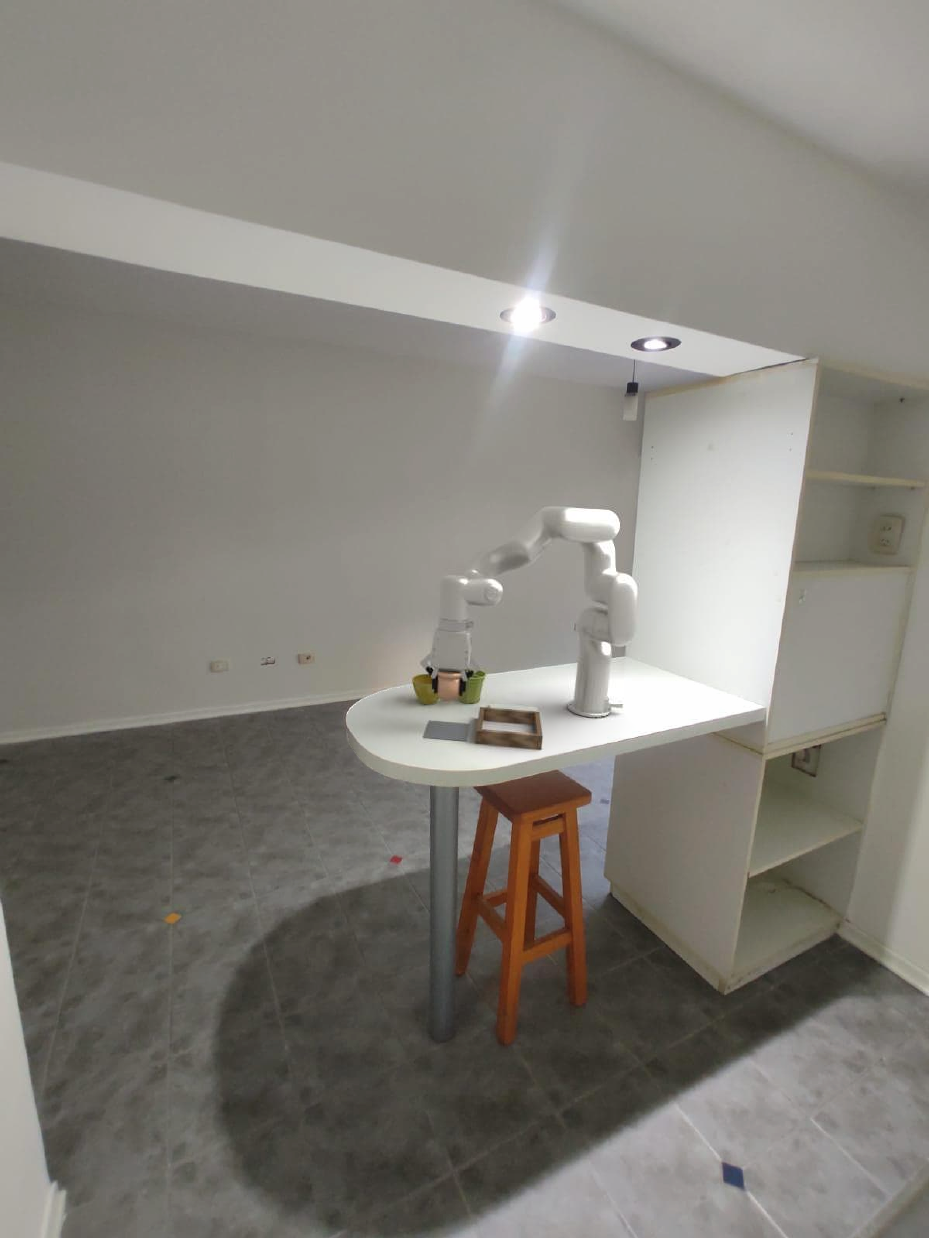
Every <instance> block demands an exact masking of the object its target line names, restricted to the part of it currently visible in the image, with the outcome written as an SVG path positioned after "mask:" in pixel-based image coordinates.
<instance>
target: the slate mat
mask: <svg viewBox="0 0 929 1238" xmlns="http://www.w3.org/2000/svg"><path fill="white" fill-rule="evenodd" d="M470 726H471V723H465V722H454V721H441V720H431V719H429V721H428V724H427V725H426V728H425V731H424V734H423V736H422V738H423V739H432V740H442V739H443V740H444V741H454V742H455V741H456V742H467V740H468V735H469V730H470ZM443 740H442V741H443Z"/></svg>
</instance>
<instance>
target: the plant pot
mask: <svg viewBox="0 0 929 1238" xmlns="http://www.w3.org/2000/svg"><path fill="white" fill-rule="evenodd" d="M471 669H472V668H469V669H467V670H466V671H467V672H468V671H469V670H471ZM486 677H487V673H486V671H484V670H482V669H480V670H478V671H477V672H476V673H474V674H473V675H472V676H471V677H470V678H469V679H467V681H466V692H463V695H462V696H460V698H459V699H458V700H459V701H460V702H462V703H464V704H469V703H471V704H476V703H479V702H480V700H481V699H480V698H481V694H482V690H483V684H484V681H485V679H486ZM461 678H462V677H461Z"/></svg>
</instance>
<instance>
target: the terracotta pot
mask: <svg viewBox="0 0 929 1238" xmlns="http://www.w3.org/2000/svg"><path fill="white" fill-rule="evenodd" d="M437 675H438V683H437V698H439V700H442V701H447V702H451V701H452V702H454V701H458V700H460V699H459V698H460V681H461V677H462V673H460V670H448V669H439V671H437Z"/></svg>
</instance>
